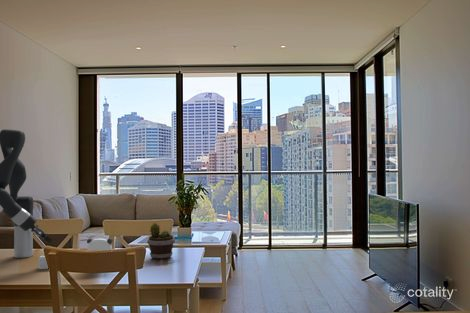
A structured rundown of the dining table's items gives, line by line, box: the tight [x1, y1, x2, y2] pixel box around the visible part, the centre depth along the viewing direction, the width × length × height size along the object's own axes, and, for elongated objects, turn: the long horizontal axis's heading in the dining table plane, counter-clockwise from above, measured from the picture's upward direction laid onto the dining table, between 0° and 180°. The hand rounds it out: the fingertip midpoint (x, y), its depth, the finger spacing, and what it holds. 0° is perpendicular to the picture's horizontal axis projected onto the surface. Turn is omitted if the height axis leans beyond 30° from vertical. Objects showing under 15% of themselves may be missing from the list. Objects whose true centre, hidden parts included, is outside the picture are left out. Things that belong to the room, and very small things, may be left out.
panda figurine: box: [86, 237, 114, 251], centre depth 208 cm, size 12×11×15 cm
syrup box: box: [37, 254, 48, 270], centre depth 214 cm, size 6×6×14 cm
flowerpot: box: [146, 221, 176, 261], centre depth 233 cm, size 14×15×20 cm
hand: (50, 241), depth 217 cm, fingers closed
